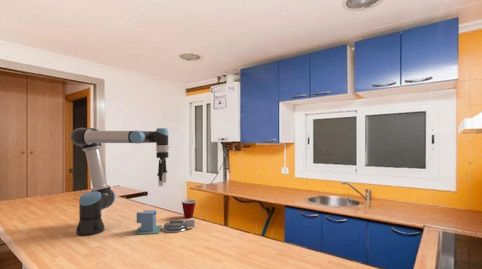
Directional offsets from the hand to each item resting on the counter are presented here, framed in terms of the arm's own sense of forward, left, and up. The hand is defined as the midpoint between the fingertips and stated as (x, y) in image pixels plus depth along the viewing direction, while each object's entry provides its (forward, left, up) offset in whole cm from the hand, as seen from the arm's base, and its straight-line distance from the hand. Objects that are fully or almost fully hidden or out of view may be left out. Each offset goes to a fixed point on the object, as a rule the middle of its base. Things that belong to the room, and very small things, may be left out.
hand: (162, 184), depth 180 cm
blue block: (-8, -9, -26) cm, 29 cm away
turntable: (+11, -8, -26) cm, 29 cm away
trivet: (-7, -9, -27) cm, 29 cm away
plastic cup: (+16, +16, -27) cm, 35 cm away
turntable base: (+9, -8, -27) cm, 29 cm away
